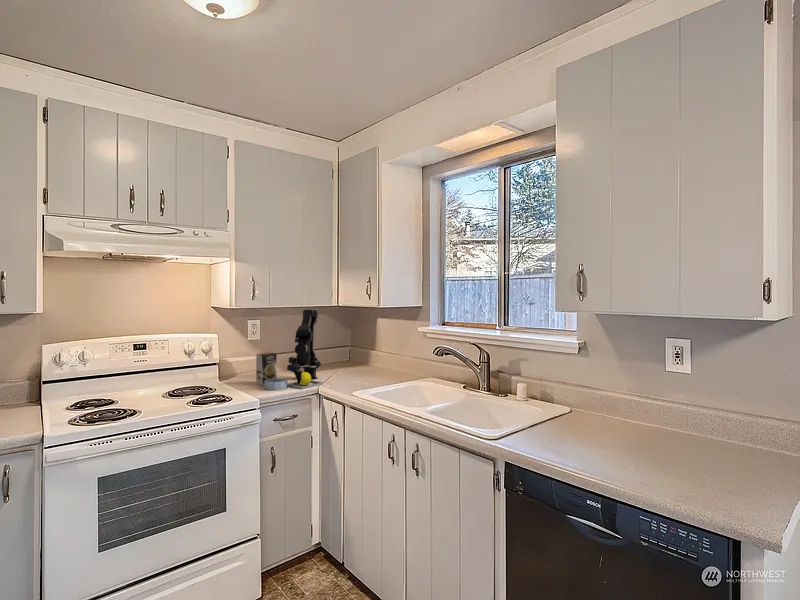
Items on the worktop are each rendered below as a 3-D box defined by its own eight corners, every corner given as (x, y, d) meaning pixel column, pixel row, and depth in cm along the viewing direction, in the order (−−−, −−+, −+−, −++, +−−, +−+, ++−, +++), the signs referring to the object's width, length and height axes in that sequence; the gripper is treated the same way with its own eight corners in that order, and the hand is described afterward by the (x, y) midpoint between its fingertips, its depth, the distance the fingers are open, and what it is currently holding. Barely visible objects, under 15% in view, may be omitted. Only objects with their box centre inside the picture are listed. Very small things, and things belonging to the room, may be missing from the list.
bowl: (277, 384, 246) (277, 377, 245) (291, 387, 239) (291, 379, 239) (260, 388, 237) (260, 380, 237) (274, 391, 230) (274, 383, 230)
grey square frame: (306, 381, 254) (306, 379, 254) (323, 384, 246) (323, 382, 246) (285, 386, 242) (285, 384, 242) (301, 389, 234) (301, 387, 234)
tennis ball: (295, 385, 245) (295, 371, 245) (308, 383, 249) (307, 370, 249) (300, 387, 239) (300, 373, 239) (313, 385, 243) (313, 372, 243)
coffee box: (263, 385, 245) (262, 355, 244) (256, 384, 249) (255, 354, 248) (277, 382, 252) (277, 353, 251) (270, 381, 256) (269, 352, 255)
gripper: (306, 349, 256) (307, 377, 256) (279, 353, 241) (280, 383, 241) (321, 350, 249) (321, 379, 250) (294, 355, 234) (294, 385, 235)
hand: (304, 381), depth 244 cm, fingers closed on tennis ball, 7 cm apart
